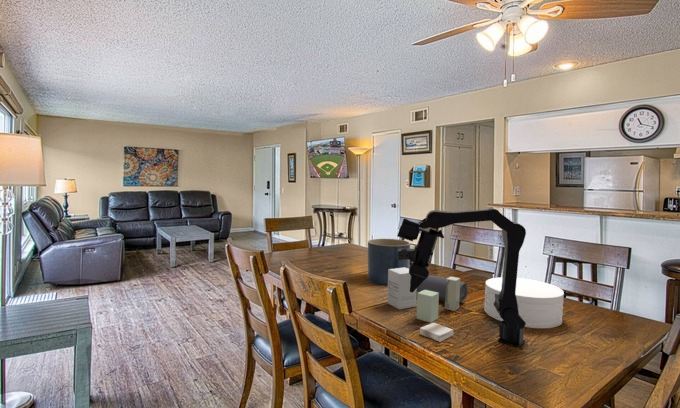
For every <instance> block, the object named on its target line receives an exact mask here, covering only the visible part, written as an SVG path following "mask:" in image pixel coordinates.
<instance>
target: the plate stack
mask: <svg viewBox="0 0 680 408" xmlns="http://www.w3.org/2000/svg"><path fill="white" fill-rule="evenodd" d="M502 278H503V276H502V277H501V276H500V277H492V278H488V279H486V280H485V288H484V292H485V294H484V308H483V309H484V312H485V314H487V315H488V316H489V317H492V318H493V319H495V320H497V321H500V322H501V321H503V319H502V318H501V317H500V315H499V314H498V312H497V310H496V308H495V306H494V305H493V304H494V302H495V294H498V295H499V294H500V292H501V289H502ZM515 294H516V299H517V304H518V313H519V315H520V316H521V317H522V319H523V320H524V321H525V323H526V325H525V327H524V328H533V329H552V328H557V327H559V326H561V325H562V324H563V316H564V315H563V313H564V312H563V310H564V299H565V298H564V296H565V293H564V290H563V289H562V288H560V287H559V286H556V285H554V284H551V283H548V282H545V281H544V282H543V281H540V280H536V279H530V278H522V277H517V281H516V292H515Z"/></svg>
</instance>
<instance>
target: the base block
mask: <svg viewBox="0 0 680 408" xmlns="http://www.w3.org/2000/svg"><path fill="white" fill-rule="evenodd" d="M419 335H422V336H424V337H426V338H429V339H432V340H434V341H437V342H439V343H440V342H442V341H444V340H446V339H449V338H451V337H453V336H454V329H452V328H449V327H447V326H444V325H441V324H439V323H436V322H431V323H429V324H427V325H423V326H422V327H419Z"/></svg>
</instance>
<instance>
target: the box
mask: <svg viewBox="0 0 680 408" xmlns="http://www.w3.org/2000/svg"><path fill="white" fill-rule="evenodd" d="M446 278H447V279H446V292H445V301H444V309H445V310H448V311H449V310H450V311H451V312H452V311H453V312H455V311H457V310H458V309H459V308H460V302H459V297H460V281H461V277H457V276H456V277H455V276H449V277H446Z"/></svg>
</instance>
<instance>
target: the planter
mask: <svg viewBox="0 0 680 408" xmlns="http://www.w3.org/2000/svg"><path fill="white" fill-rule="evenodd" d="M398 249H411V241H409V240H404V239H396V238H373V239H369V240H367V280H368V281H369V282H371V283H373V284H377V285H381V286H388V269H396V268H404V267H405V268H408V269H409V268H410V264H409V262H410V259H406V260H398V253H397V250H398Z"/></svg>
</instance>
